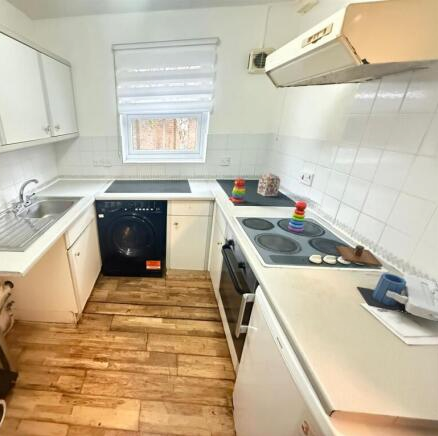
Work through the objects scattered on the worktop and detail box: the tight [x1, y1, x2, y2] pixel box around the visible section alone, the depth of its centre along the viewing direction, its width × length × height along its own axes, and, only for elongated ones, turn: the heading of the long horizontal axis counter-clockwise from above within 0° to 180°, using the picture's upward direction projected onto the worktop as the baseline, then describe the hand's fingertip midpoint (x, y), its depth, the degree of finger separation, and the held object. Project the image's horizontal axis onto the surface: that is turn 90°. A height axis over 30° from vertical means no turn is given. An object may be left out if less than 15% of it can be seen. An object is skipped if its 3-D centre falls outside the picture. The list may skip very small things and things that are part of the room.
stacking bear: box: [228, 177, 246, 204], centre depth 182 cm, size 11×10×18 cm
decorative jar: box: [256, 172, 281, 198], centre depth 197 cm, size 12×12×18 cm
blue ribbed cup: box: [372, 272, 407, 305], centre depth 82 cm, size 6×6×9 cm
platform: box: [334, 244, 383, 268], centre depth 107 cm, size 13×13×7 cm
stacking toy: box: [287, 200, 308, 233], centre depth 130 cm, size 8×8×19 cm
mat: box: [356, 286, 409, 314], centre depth 84 cm, size 12×10×1 cm
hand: (385, 285), depth 83 cm, fingers open, 8 cm apart
